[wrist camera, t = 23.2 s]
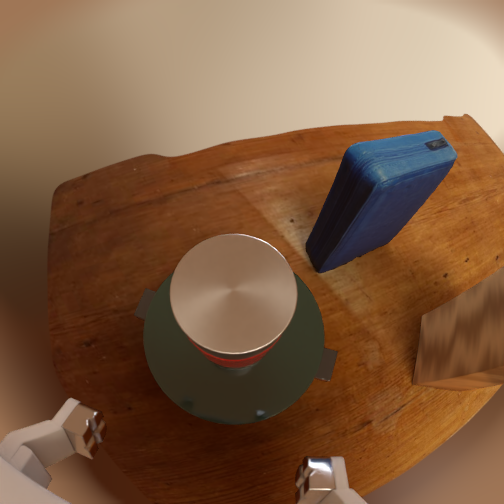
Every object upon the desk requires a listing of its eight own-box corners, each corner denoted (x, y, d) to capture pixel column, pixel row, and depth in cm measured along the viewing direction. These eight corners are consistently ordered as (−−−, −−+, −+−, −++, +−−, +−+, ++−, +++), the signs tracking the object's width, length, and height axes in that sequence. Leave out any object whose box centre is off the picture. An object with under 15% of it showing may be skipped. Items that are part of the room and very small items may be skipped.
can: (259, 379, 22) (278, 373, 12) (185, 354, 23) (148, 327, 13) (281, 309, 25) (311, 253, 15) (212, 287, 26) (197, 218, 16)
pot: (293, 434, 28) (315, 449, 19) (135, 378, 30) (101, 372, 21) (329, 310, 35) (357, 283, 26) (183, 264, 37) (168, 225, 28)
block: (460, 391, 29) (555, 369, 13) (411, 384, 30) (514, 362, 14) (467, 328, 34) (551, 285, 18) (421, 315, 35) (510, 260, 19)
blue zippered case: (375, 218, 42) (437, 121, 24) (394, 245, 40) (468, 155, 22) (298, 249, 39) (343, 133, 21) (317, 282, 36) (384, 180, 19)
